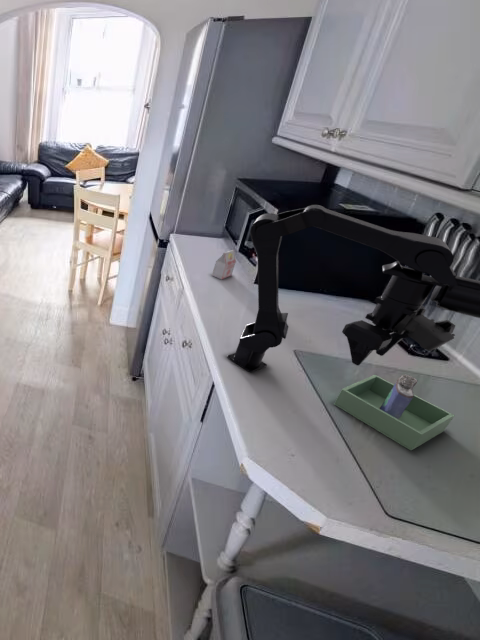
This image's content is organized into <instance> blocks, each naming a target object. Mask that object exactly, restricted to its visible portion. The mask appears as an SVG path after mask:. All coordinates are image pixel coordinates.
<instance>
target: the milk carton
mask: <svg viewBox="0 0 480 640" xmlns="http://www.w3.org/2000/svg"><path fill="white" fill-rule="evenodd" d="M236 263H237V259H236V249H231V250H228V251H225V252H223V253H222V255H221V256H220V257H218V259H217V260H215V263H214V267H213V269H212V272H211V276H213V277H215V278H217V279H219V280H224V279H227V278H229V277H232V275H233V272H234V269H235V266H236Z"/></svg>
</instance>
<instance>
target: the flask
mask: <svg viewBox="0 0 480 640" xmlns="http://www.w3.org/2000/svg"><path fill="white" fill-rule="evenodd" d="M416 384H418V379H417V378H415V377H414V376H412V375H408V374H402V375H400V376H399V377H398V378H397V380H396V381H395V383H394V387H393V388H392V390H391V392H390V393H389V395H388V396H387V398H386V400H385V401H384V403H383V404H382V406H381V407H380V408H379V409H381V410H382V411H384V412H386V413H388V414H389V415H391V416H393V417H395V418H397V419H398V420H399V418H400V417H401V415H402V413H403V412H404V410H405V409H406V407H407V406H408V404H409V403H410V402H411V400H412V399H413V397H414V395H415V393H414V387H415V386H416Z"/></svg>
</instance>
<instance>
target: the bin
mask: <svg viewBox="0 0 480 640" xmlns="http://www.w3.org/2000/svg"><path fill="white" fill-rule="evenodd" d="M394 385H395V383H392V382H391V381H389V380H387V379H384V378H382V377H381V376H379V375H377V374H373V375H371V376H368V377H366V378H364V379H362V380H359V381H358V382H355V383H353V384H350V385H348V386H345V387H344V388H341V390H340V392H339V394H338V396H337V398H336V400H335V401H334V403H333V406H336V407H338V408H339V409H341V410H342V411H344V412H346V413H347V414H349V415H351V416H352V417H354V418H356V419H357V420H359V421H361V422H362V423H364V424H365V425H367V426H368V427H371V428H372V429H374V430H375V431H377V432H379V433H380V434H382V435H384V436H386V437H387V438H388V439H391V440H392V441H394V442H395V443H397V444H399V445H400V446H402V447H404V448H406V449H407V450H409V451H413V450H414V449H416V448H418V447H420V446H422V445H424V444H425V443H426V442H428V441H430V440H431V439H433V438H435V437H437V436H438V435H440V434H442V433H443V432H445V431H446V429H447V428H448V426H449V425H450V423H451V422H452V421H453V419H454V417H455V416H456V415H455V414H453V413H451V412H449V411H447V410H446V409H443V408H442V407H440V406H437V405H435V404H433V403H431V402H429V401H428V400H426V399H424V398H422V397H420V396H418V395H416V394H414V397H413V399H412V400H411V402H410V403H409V404H408V406H407V407H406V409H405V410H404V412H403V413H402V415H401V417H400V418H399V420H398V419H397V418H395V417H393V416H391V415H389V414H388V413H386V412H384V411H382V410H381V409H379V408H380V407H381V406H382V404H383V403H384V401H385V400H386V398H387V396H388V395H389V393H390V392H391V390H392V388H393V387H394Z"/></svg>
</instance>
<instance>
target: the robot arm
mask: <svg viewBox="0 0 480 640" xmlns="http://www.w3.org/2000/svg"><path fill="white" fill-rule="evenodd" d="M313 227H314V228H317V229H320V230H323V231H326V232H328V233H331V234H334V235H337V236H340V237H342V238H345V239H348V240H350V241H353V242H356V243H359V244H362V245H365V246H367V247H371V248H373V249H376V250H379V251H381V252H382V253H385V254H386V255H388V256H389V257H391V258H392V259H394V260H396V261H394V262H392V263H387V264H383V265H382V266H381V268H382V269H381V270H382V274H385V275H390V276H391V278H390V280H389V282H388V283H387V285H386V286H385V288H384V290H383V292H382V294H381V295H379V296H377V297H375V298H374V300H373V302H374V303H376V305H375V307H374V309H373V311H372V312H370V313H367V314H366V316H365V319H366V320H369V321H370V322H371V323H369V322H367V321H365V320H363V319H362V320H356V321H352V322H350V323H346V324H344V327H343V329H342V331H341V333H342V334H343V335H344V337H346V339H347V342H348V347H349V352H350V357H351V363H352V364H354V365H356V366H360V365H361V364H362V363H363V362H364V361H365V360H366V359H367V358H368V357H369V356H370V355H371V354H372V352H373V351H375V353H376V354H377V355H378V356H380V357H383V356H385V355H386V354H387V353H388V352H389V351H390V350H392V348H394V347H395V346H396V345H397V344H399V342H401V341H402V340H403V339H407V338H411V339H412V340H414V341H415V342H416V343H418V344H419V346H420V347H421V348H422V349H423V350H426V351H429V352H431V351H433V350H436V349H438V348H440V347H442V346H443V345H445V344H447V343H449V342H450V341H452V340H454V339H455V336H456V334H455V333H454V331H455V328H456V324H455V323H453V322H452V321H450V320H448V319H445V320H437V321H435V319H434V318H431V319H430V318H429V317H427V316H425V315H424V314H425V313H426V311H427V309H426V306H424V303H425V302H426V300H427V298H428V297H429V295H430V301H432V302H435V306H436V308H438V309H442V310H445V311H449V312H452V313H453V312H454V313H457V314H461V315H465V316H469V317H473V318H477V319H480V280H478V279H474V278H468V277H464V276H460V275H457V274H456V272H455V271H454V268H453V267H451V265H452V264H453V262H454V255H453V254H454V253H453V251H451V249H450V248H449V246H448V244H447V243H446V242H445V241H444V240H443V239H441V238H438V237H435V236H431V235H425V234H420V233H415V232H407V231H406V232H405V231H397V230H393V229H389V228H386V227H383V226H380V225H377V224H374V223H370V222H368V221H365V220H362V219H360V218H359V219H358V218H355V217H353V216H349V215H346V214H344V213H340V212H337V211H335V210H331V209H328V208H326V207H325V206H322V205H319V204H311V205H308V206H306V207H302V208H297V209H292V210H287V211H283V212H280V213H272V212H271V213H270V212H269V213H268V212H267V213H263V214H261V215H259V216H258V217H257V218H256V219H255V220H254V222H253V224H252V225H251V227H250V230H249V234H250V238H251V242H252V247H253V248H254V251H255V253H256V256H257V299H258V300H257V301H258V302H257V303H258V304H257V305H258V308H257V309H258V310H257V314H256V318H255V321H254V322H251V323H248V324H245V326H244V327H243V330H242V333H241V335H240V337H239V342H238V344H237V346H236V350H235V352H234V353H230V354H228V355H227V356H226V357H227V359H228V360H230V361H232V362H233V363H234V364H236V365H238V366H239V367H241V368H242V369H244V370H246V371H247V372H249V373H253V372H256V371H259V370H261V369H264V368H266V367H267V366H268V364H267V363H265V362H264V361H263V359H264V356H265V354H266V351H267V350H269V349H270V348H276V347H278V346H280V345H281V344H282V343H283V342H282V341H283V339H285V340H286V338H287V334H288V330H289V324H288V322H287V320H288V316H289V312H281V309H280V306H279V251H280V248H281V243H282V240H283V237H285V236H288V235H292V234H294V233H297V232H300V231H302V230H306V229H310V228H313ZM402 264H403V265H402ZM404 265H405V266H404ZM426 274H427V275H426ZM431 291H432V292H431ZM430 293H431V294H430Z"/></svg>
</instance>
